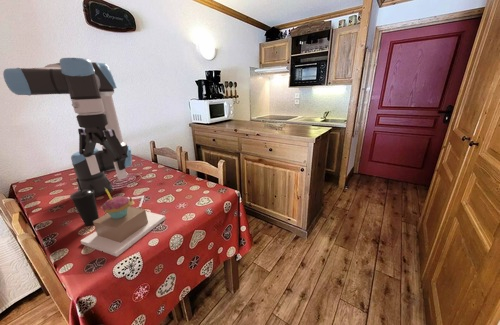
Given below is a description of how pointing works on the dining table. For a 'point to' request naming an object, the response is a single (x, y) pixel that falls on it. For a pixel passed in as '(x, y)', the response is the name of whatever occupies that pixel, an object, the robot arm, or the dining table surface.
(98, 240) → the plinth
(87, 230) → the dining table surface
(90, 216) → the drinking cup
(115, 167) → the robot arm
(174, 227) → the dining table surface
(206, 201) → the dining table surface
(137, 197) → the white square frame
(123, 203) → the cupcake
